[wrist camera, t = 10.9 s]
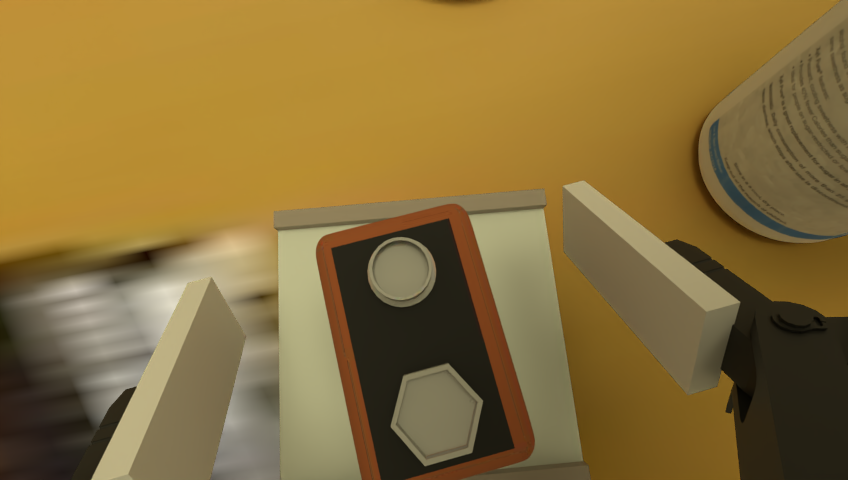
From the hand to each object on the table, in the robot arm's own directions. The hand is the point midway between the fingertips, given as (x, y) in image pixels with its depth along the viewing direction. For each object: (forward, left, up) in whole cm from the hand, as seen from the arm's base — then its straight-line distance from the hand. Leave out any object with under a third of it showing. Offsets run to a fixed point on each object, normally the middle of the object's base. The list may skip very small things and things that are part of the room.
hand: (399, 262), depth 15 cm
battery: (-1, +3, -6) cm, 6 cm away
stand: (0, +3, -9) cm, 9 cm away
